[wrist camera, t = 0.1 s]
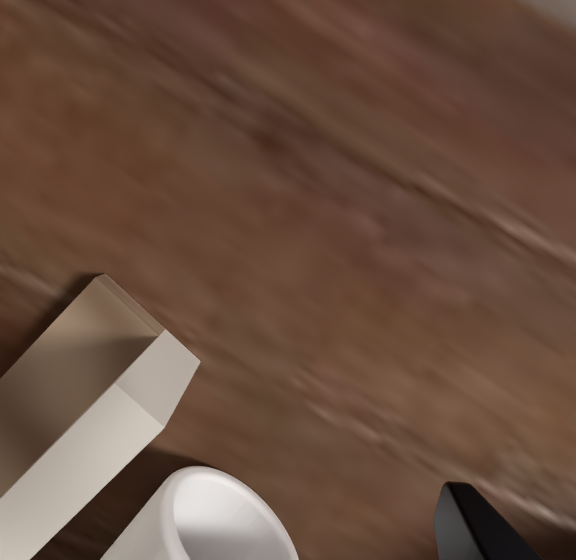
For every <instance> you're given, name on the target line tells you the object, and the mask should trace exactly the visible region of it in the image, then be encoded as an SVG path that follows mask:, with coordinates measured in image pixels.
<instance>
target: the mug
mask: <svg viewBox="0 0 576 560" xmlns="http://www.w3.org/2000/svg"><path fill="white" fill-rule="evenodd" d="M100 560H299V559H298V556H297V553H296V550H295V548H294V545H293V543H292V541H291V539H290V537H289V535H288V533H287V531H286V530H285V528H284V526H283V525H282V523H281V522H280V520H279V519H278V518H277V516H276V515H275V513H274V512H273V511H272V510H271V509H270V507H269V506H268V505H267V504H266V503H265V502H264V501H263V500H262V499H261V498H260V497H259V496H258V495H257V494H256V493H255V492H254V491H253V490H251V489H250V488H249V487H248V486H246V485H245V484H244V483H242V482H241V481H239V480H238V479H236V478H234V477H233V476H231V475H229V474H227V473H225V472H222V471H220V470H217V469H214V468H210V467H205V466H190V467H185V468H182V469H179V470H177V471H175V472H174V473H172V474H171V475H170V476H169V477H168V478H167V479H166V480H165V481H164V482H163V484H162V485H161V486H160V487H159V488H158V490H157V491H156V492H155V493H154V495H153V496H152V497H151V498H150V499H149V501H148V502H147V503H146V504H145V506H144V507H143V508H142V509H141V510H140V512H139V513H138V514H137V515H136V516H135V518H134V519H133V520H132V521H131V523H130V524H129V525H128V526H127V527H126V529H125V530H124V531H123V532H122V533H121V535H120V536H119V537H118V538H117V540H116V541H115V542H114V543H113V544H112V546H111V547H110V548H109V549H108V550H107V552H106V553H105V554H104V555H103V557H102V558H101V559H100Z"/></svg>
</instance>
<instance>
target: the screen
mask: <svg viewBox="0 0 576 560" xmlns="http://www.w3.org/2000/svg"><path fill="white" fill-rule="evenodd" d="M200 362H201V361H200V360H199V359H197V358H196V357H195V356H194V355H193V354H192V353H191V352H190V351H189V350H188V349H187V348H186V347H184V346H183V345H182V344H181V343H180V342H179V341H178V340H177V339H176V338H175V337H174V336H173V335H172V334H170V333H169V332H168V331H167V330H166V329H165V328H164V327H163V326H162V325H161V324H160V323H159V322H157V321H156V320H155V319H154V318H153V317H152V316H151V315H150V314H149V313H148V312H147V311H146V310H145V309H143V308H142V307H141V306H140V305H139V304H138V303H137V302H136V301H135V300H134V299H133V298H132V297H130V296H129V295H128V294H127V293H126V292H125V291H124V290H123V289H122V288H121V287H120V286H119V285H117V284H116V283H115V282H114V281H113V280H112V279H111V278H110V277H109V276H108V275H107V274H106V273H105V274H102V275H100V276H97V277H95V278H94V279H93V280H92V281H91V283H90V284H89V285H88V286H87V287H86V288H85V289H84V290H83V291H82V292H81V293H80V294H79V295H78V296H77V297H76V299H75V300H74V301H73V302H72V303H71V304H70V305H69V306H68V307H67V308H66V309H65V310H64V311H63V312H62V313H61V315H60V316H59V317H58V318H57V319H56V320H55V321H54V322H53V323H52V324H51V325H50V326H49V327H48V328H47V329H46V330H45V332H44V333H43V334H42V335H41V336H40V337H39V338H38V339H37V340H36V341H35V342H34V343H33V344H32V345H31V346H30V348H29V349H28V350H27V351H26V352H25V353H24V354H23V355H22V356H21V357H20V358H19V359H18V360H17V361H16V362H15V364H14V365H13V366H12V367H11V368H10V369H9V370H8V371H7V372H6V373H5V374H4V375H3V376H2V377H1V378H0V560H30V559H31V558H32V557H33V556H34V555H35V554H36V553H37V552H38V551H39V550H40V549H41V548H42V547H43V546H44V545H45V544H46V543H47V542H48V541H49V540H50V539H51V538H52V537H53V536H54V535H55V534H56V533H57V532H58V531H59V530H60V529H62V528H63V527H64V526H65V525H66V524H67V523H68V522H69V521H70V520H71V519H72V518H73V517H74V516H75V515H76V514H77V513H78V512H79V511H80V510H81V509H82V508H83V507H84V506H85V505H86V504H87V503H88V502H89V501H90V500H91V499H92V498H93V497H94V496H95V495H96V494H97V493H98V492H99V491H100V490H101V489H102V488H103V487H104V486H105V485H106V484H108V483H109V482H110V481H111V480H112V479H113V478H114V477H115V476H116V475H117V474H118V473H119V472H120V471H121V470H122V469H123V468H124V467H125V466H126V465H127V464H128V463H129V462H130V461H131V460H132V459H133V458H134V457H135V456H136V455H137V454H138V453H139V452H140V451H141V450H142V449H143V448H144V447H145V446H146V445H147V444H148V443H149V442H150V441H151V440H153V439H154V438H155V437H156V436H157V435H158V434H159V433H160V432H161V431H162V430H163V429H164V428H165V426H166V424H167V422H168V420H169V419H170V417H171V415H172V413H173V411H174V409H175V408H176V406H177V404H178V402H179V400H180V398H181V397H182V395H183V393H184V391H185V389H186V387H187V386H188V384H189V382H190V380H191V378H192V377H193V375H194V373H195V371H196V369H197V367H198V366H199V364H200Z"/></svg>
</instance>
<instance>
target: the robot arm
mask: <svg viewBox="0 0 576 560" xmlns="http://www.w3.org/2000/svg"><path fill="white" fill-rule="evenodd" d="M434 530H435V536H436V542H437V548H438V554H439V560H544V559H543V558H542V557H541V556H540V555H539V554H538V553H537V552H536V551H535V550H534V549H533V548H532V547H531V546H530V545H529V544H528V543H527V542H526V540H525V539H524V538H523V537H522V536H521V535H520V534H519V533H518V532H517V531H516V530H515V529H514V528H513V527H512V526H511V525H510V524H509V523H508V522H507V521H506V520H505V519H504V518H503V517H502V516H501V515H500V514H499V513H498V512H497V511H496V510H495V509H494V508H493V506H492V505H491V504H490V503H489V502H488V501H487V500H486V499H485V498H484V497H483V496H482V495H481V494H480V493H479V492H478V491H477V490H476V489H475V488H474V487H473V486H472V485H470V484H469V483H464V482H450V481H448V482H446V483H445V484H444V485H443V487H442V490H441V494H440V497H439V501H438V504H437V508H436V511H435V515H434Z"/></svg>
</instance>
